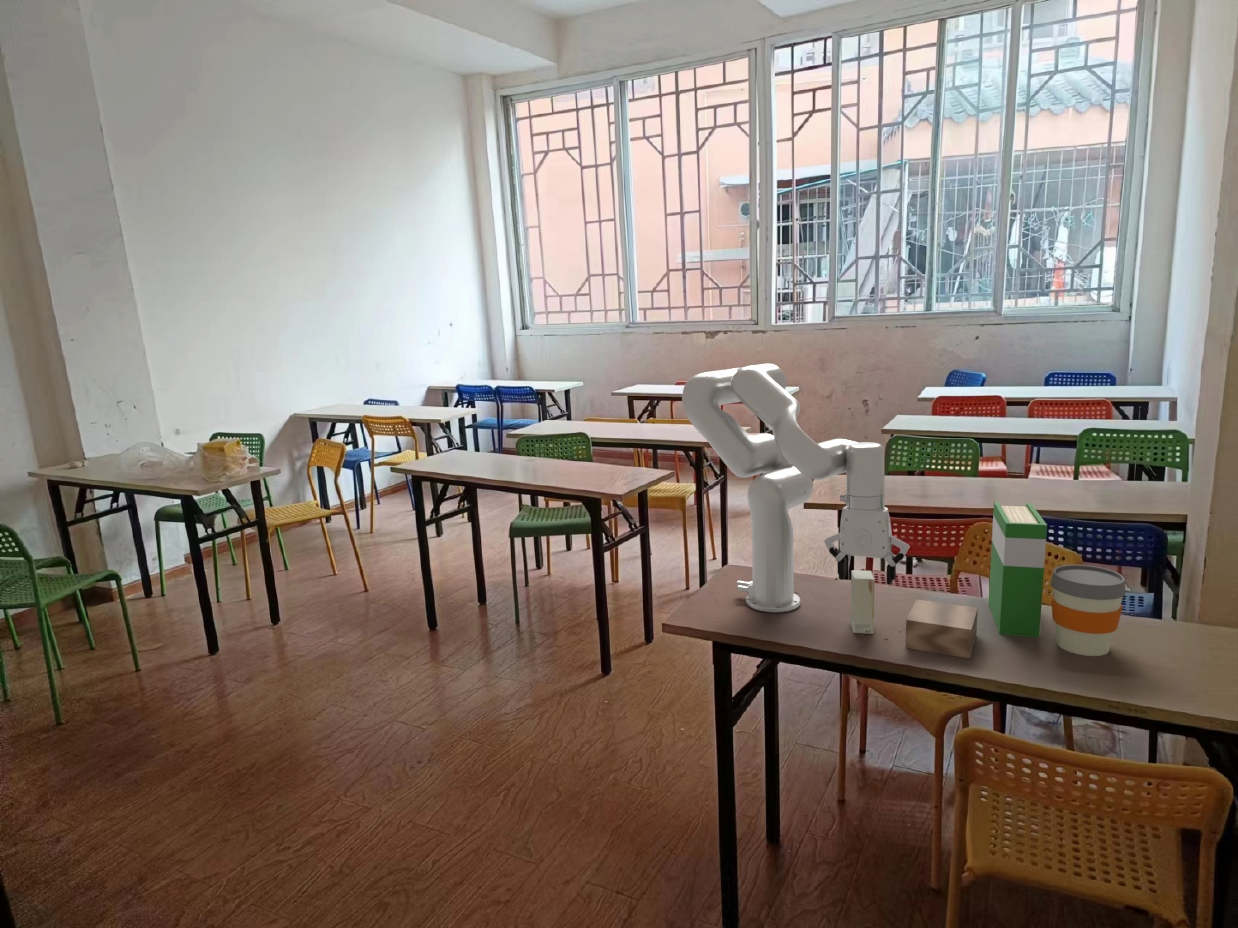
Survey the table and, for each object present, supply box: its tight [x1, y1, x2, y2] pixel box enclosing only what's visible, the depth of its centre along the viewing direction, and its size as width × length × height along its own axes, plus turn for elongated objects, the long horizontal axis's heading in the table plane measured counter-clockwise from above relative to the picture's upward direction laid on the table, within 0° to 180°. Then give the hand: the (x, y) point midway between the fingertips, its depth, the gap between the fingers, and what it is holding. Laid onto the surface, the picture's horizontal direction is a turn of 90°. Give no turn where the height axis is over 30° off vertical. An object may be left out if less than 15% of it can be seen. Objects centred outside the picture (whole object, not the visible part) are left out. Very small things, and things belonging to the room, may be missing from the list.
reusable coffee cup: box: [1050, 564, 1126, 657], centre depth 151 cm, size 12×12×15 cm
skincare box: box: [850, 569, 875, 635], centre depth 164 cm, size 6×4×12 cm
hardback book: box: [988, 501, 1048, 638], centre depth 165 cm, size 18×7×24 cm, turn 162°
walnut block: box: [905, 598, 979, 660], centre depth 157 cm, size 12×12×6 cm
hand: (866, 580), depth 163 cm, fingers open, 9 cm apart
